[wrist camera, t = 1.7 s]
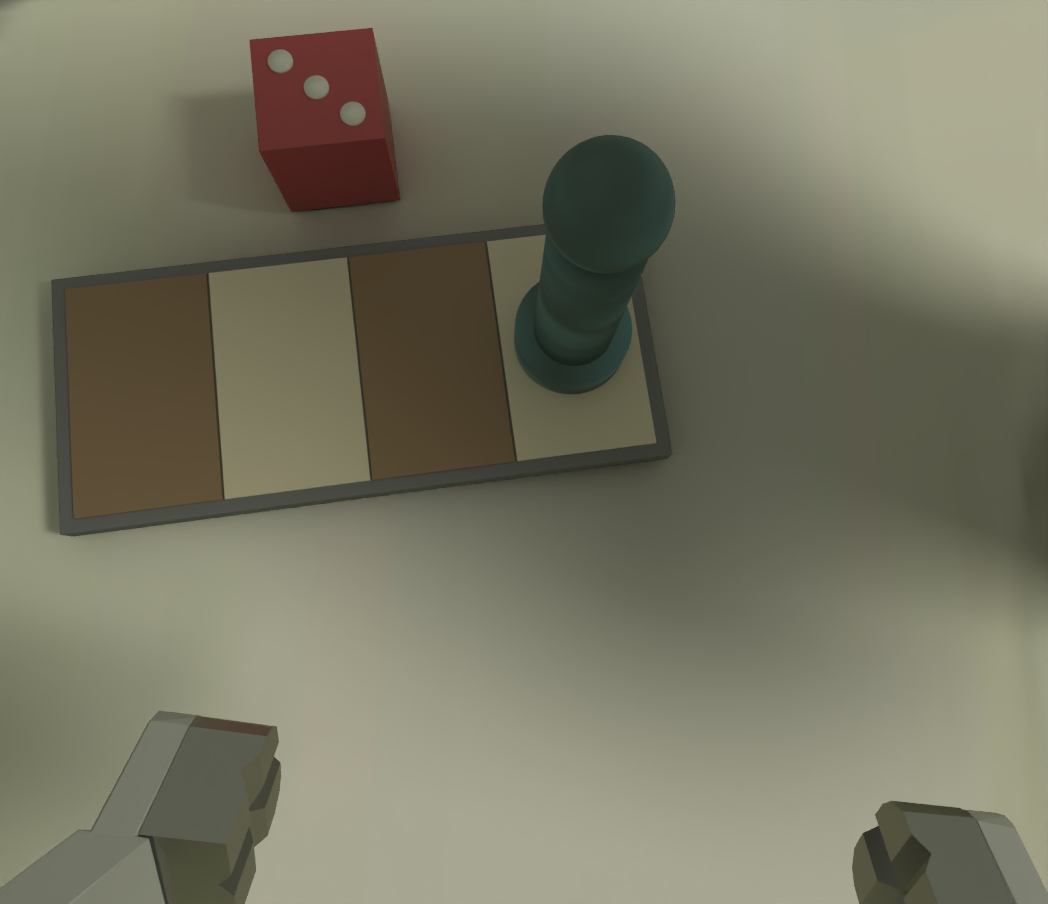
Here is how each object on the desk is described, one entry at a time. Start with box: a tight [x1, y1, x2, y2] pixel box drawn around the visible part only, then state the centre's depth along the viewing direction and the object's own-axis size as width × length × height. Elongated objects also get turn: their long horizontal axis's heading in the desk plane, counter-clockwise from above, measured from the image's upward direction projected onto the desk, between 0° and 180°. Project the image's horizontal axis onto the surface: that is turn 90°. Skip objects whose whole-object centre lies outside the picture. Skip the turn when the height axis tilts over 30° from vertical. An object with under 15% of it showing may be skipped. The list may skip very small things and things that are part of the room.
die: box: [250, 28, 400, 212], centre depth 31 cm, size 4×5×5 cm
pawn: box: [514, 135, 675, 394], centre depth 25 cm, size 4×4×12 cm
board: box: [52, 224, 672, 536], centre depth 31 cm, size 23×10×1 cm, turn 98°
